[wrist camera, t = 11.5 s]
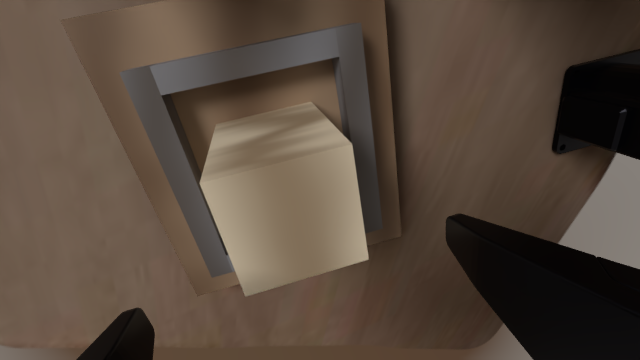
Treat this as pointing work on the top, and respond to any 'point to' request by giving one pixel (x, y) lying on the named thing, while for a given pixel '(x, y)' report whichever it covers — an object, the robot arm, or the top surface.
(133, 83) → the brown wooden flat tray
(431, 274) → the top surface
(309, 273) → the birch block
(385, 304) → the top surface
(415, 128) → the top surface
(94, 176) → the top surface
